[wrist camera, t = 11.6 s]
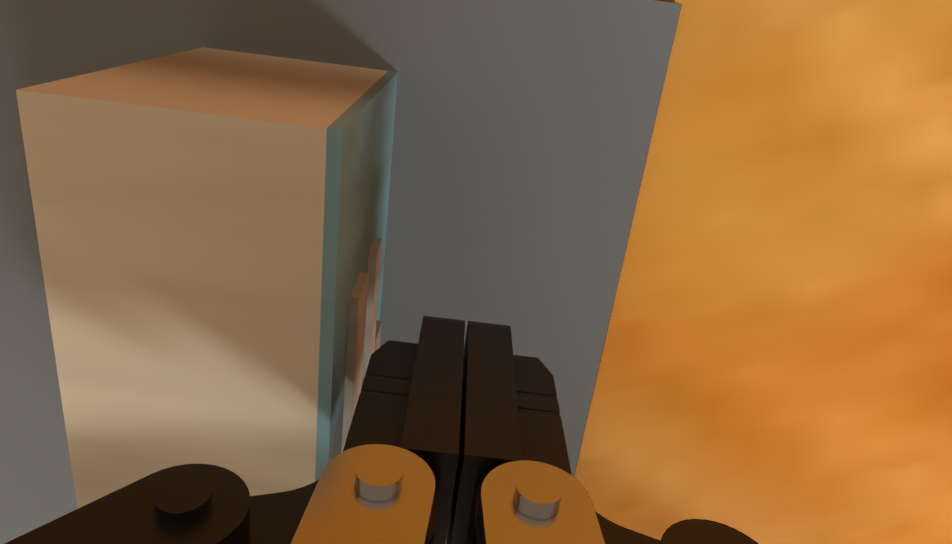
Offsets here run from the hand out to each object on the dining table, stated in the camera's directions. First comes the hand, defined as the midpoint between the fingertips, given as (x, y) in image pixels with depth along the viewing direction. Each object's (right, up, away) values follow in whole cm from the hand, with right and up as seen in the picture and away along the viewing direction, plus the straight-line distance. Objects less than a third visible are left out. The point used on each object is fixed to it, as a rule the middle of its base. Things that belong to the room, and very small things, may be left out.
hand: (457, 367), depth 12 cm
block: (-4, -3, +3) cm, 6 cm away
